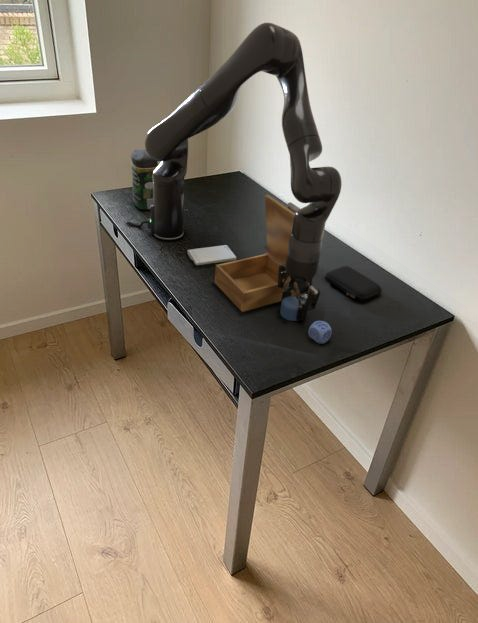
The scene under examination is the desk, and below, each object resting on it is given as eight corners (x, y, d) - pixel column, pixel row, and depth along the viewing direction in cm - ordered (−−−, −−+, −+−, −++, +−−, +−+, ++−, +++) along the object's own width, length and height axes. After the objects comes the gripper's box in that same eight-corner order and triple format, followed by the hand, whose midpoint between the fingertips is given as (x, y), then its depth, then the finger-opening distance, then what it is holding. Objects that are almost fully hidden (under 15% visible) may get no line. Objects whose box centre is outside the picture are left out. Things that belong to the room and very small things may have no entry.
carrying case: (318, 280, 137) (357, 306, 128) (320, 271, 135) (360, 297, 126) (344, 271, 142) (383, 295, 133) (346, 262, 141) (386, 286, 132)
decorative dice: (317, 331, 118) (320, 318, 115) (330, 340, 115) (333, 326, 113) (306, 337, 115) (309, 324, 113) (319, 346, 113) (322, 332, 111)
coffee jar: (130, 201, 170) (127, 148, 159) (151, 198, 173) (150, 146, 162) (139, 212, 163) (137, 158, 152) (161, 209, 166) (160, 156, 155)
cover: (298, 218, 113) (316, 212, 115) (265, 195, 123) (281, 189, 124) (297, 278, 124) (313, 271, 126) (267, 252, 134) (281, 246, 136)
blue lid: (277, 317, 119) (279, 306, 117) (282, 304, 124) (284, 293, 122) (301, 323, 118) (304, 311, 116) (305, 309, 123) (307, 298, 121)
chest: (241, 314, 121) (244, 293, 117) (214, 285, 131) (215, 264, 127) (295, 299, 128) (298, 279, 125) (265, 272, 138) (268, 253, 134)
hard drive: (226, 244, 147) (187, 248, 142) (236, 257, 141) (196, 262, 136) (226, 249, 147) (187, 253, 143) (236, 262, 142) (196, 267, 137)
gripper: (272, 242, 114) (264, 300, 124) (309, 271, 104) (297, 332, 114) (298, 236, 118) (288, 294, 127) (336, 265, 108) (322, 324, 118)
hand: (292, 311), depth 121 cm, fingers closed on blue lid, 6 cm apart
